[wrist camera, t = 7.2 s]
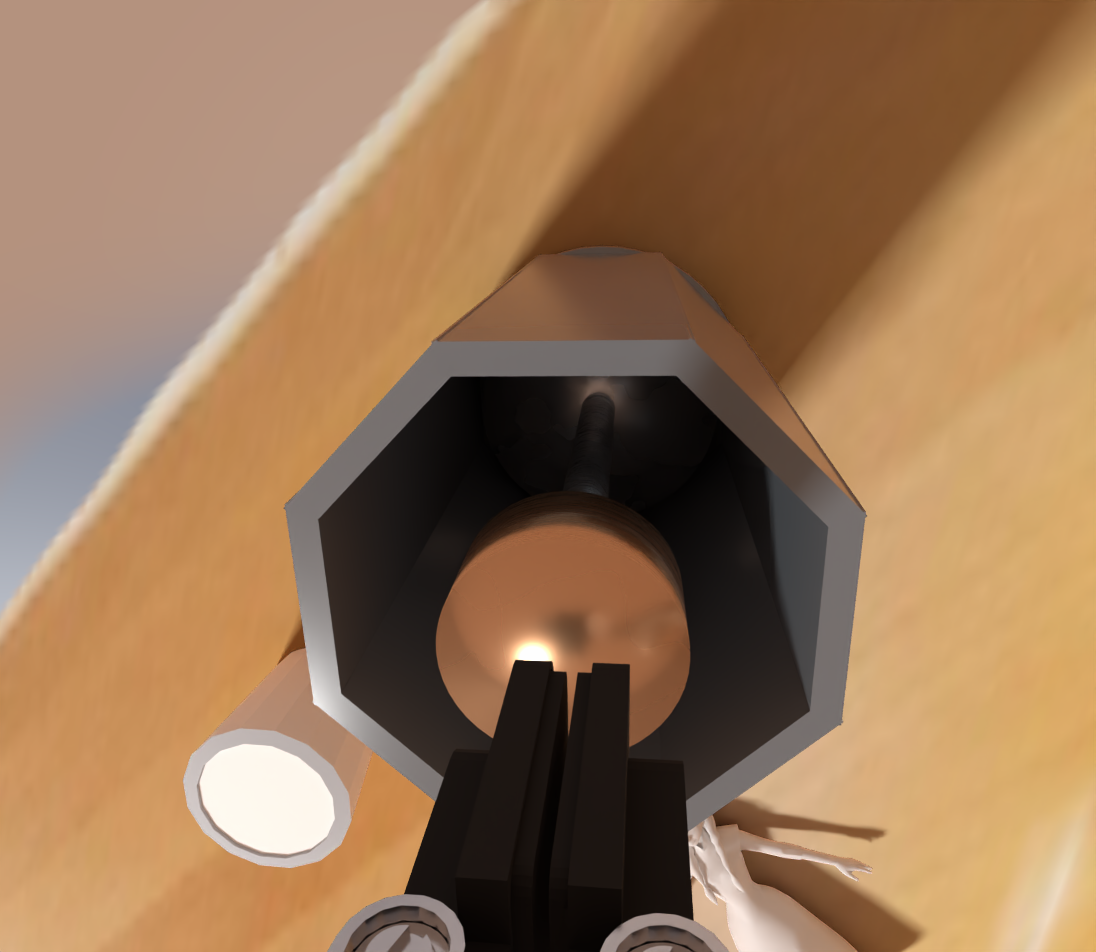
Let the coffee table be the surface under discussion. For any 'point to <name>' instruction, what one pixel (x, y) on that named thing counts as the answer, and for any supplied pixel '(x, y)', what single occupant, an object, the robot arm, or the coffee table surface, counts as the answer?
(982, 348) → the coffee table surface
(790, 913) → the woman figurine
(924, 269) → the coffee table surface
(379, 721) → the press pot
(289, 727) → the white cylinder
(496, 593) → the plunger
